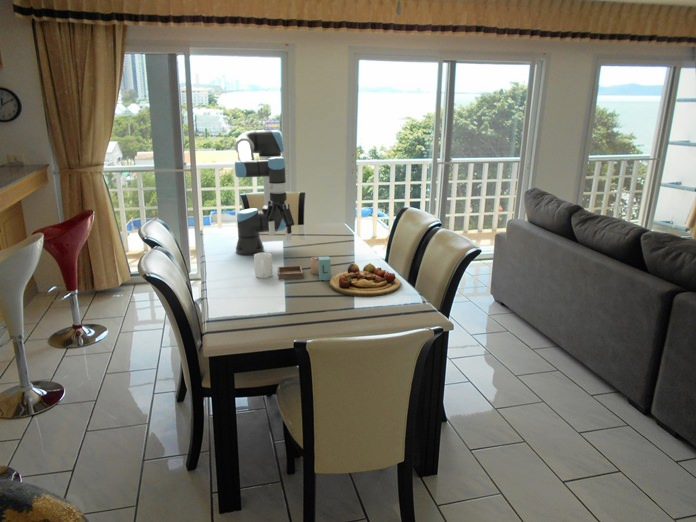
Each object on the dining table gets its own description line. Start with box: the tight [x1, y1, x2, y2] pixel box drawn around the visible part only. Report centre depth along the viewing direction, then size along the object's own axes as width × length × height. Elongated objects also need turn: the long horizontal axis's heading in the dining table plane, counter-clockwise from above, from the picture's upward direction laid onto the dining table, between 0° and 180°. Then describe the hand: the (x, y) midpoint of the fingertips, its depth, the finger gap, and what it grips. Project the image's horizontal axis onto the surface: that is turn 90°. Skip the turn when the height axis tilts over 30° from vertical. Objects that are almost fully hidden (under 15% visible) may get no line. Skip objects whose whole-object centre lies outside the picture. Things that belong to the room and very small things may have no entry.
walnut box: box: [277, 265, 304, 280], centre depth 251 cm, size 11×11×2 cm
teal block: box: [318, 255, 332, 282], centre depth 244 cm, size 5×5×10 cm
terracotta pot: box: [310, 255, 322, 276], centre depth 254 cm, size 7×7×7 cm
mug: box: [253, 252, 273, 279], centre depth 248 cm, size 12×8×10 cm
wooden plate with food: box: [329, 262, 402, 298], centre depth 236 cm, size 32×32×8 cm
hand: (280, 237), depth 245 cm, fingers open, 13 cm apart
